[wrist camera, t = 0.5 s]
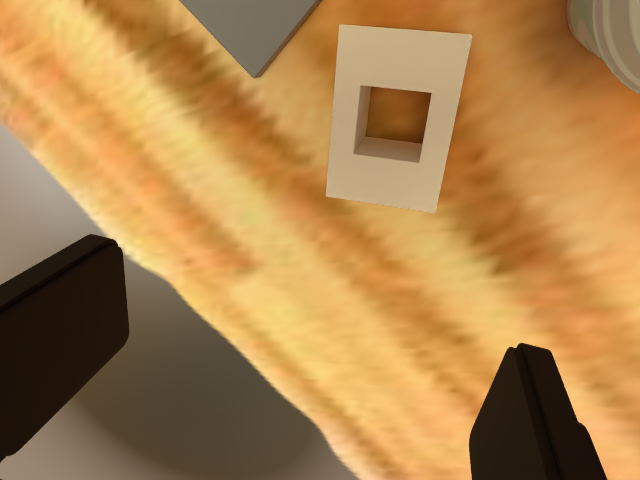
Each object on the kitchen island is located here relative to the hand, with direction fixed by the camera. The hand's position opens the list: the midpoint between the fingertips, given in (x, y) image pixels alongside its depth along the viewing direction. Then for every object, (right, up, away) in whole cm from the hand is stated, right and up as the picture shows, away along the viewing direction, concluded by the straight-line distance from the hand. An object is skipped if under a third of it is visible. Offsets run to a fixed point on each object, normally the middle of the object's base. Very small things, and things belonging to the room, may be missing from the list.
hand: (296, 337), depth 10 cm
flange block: (+6, +11, +19) cm, 23 cm away
